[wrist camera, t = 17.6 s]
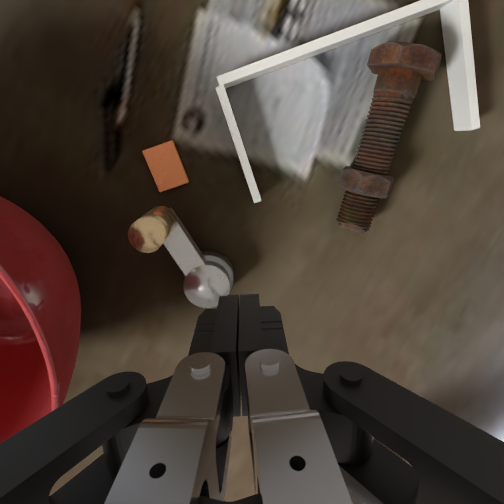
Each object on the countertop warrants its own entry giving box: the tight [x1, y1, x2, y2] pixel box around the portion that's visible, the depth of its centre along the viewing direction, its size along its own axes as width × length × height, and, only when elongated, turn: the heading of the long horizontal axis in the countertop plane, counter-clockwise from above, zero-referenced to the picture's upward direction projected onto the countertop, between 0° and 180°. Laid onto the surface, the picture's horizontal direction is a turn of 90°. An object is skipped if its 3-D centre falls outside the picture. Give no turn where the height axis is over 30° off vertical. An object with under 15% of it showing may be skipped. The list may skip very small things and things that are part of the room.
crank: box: [128, 206, 230, 308], centre depth 29 cm, size 11×4×6 cm, turn 29°
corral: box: [215, 0, 480, 203], centre depth 28 cm, size 11×20×2 cm, turn 108°
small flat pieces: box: [142, 140, 234, 292], centre depth 32 cm, size 16×5×2 cm, turn 19°
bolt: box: [336, 42, 442, 233], centre depth 29 cm, size 6×5×15 cm
